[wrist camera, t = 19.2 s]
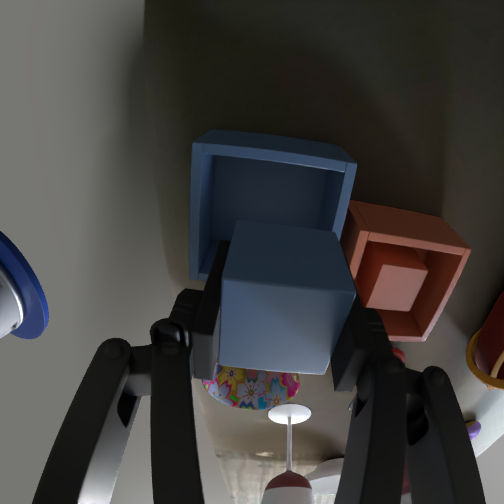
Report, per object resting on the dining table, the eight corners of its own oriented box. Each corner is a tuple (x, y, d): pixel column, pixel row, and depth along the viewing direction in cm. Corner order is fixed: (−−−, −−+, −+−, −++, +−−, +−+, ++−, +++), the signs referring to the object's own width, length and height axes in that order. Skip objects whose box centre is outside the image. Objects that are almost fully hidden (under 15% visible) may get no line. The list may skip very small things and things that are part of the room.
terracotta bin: (318, 294, 35) (325, 337, 29) (343, 198, 29) (360, 229, 23) (407, 302, 34) (424, 342, 29) (441, 217, 28) (472, 249, 23)
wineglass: (260, 421, 50) (252, 521, 33) (275, 399, 46) (270, 514, 29) (301, 427, 51) (301, 523, 34) (320, 405, 46) (325, 515, 29)
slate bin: (204, 241, 32) (189, 279, 26) (210, 128, 26) (191, 142, 20) (316, 255, 32) (324, 296, 26) (339, 145, 26) (357, 163, 20)
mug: (209, 286, 35) (188, 357, 26) (291, 277, 34) (294, 351, 24) (233, 355, 41) (222, 422, 32) (301, 350, 39) (304, 418, 30)
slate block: (230, 298, 18) (217, 365, 14) (236, 218, 15) (221, 277, 11) (315, 307, 18) (324, 375, 13) (336, 231, 15) (357, 292, 11)
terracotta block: (355, 277, 32) (365, 307, 28) (369, 236, 30) (382, 263, 25) (395, 282, 32) (409, 311, 28) (410, 244, 30) (428, 270, 25)
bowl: (388, 456, 60) (391, 478, 54) (327, 477, 68) (327, 497, 62) (349, 440, 54) (351, 468, 48) (281, 464, 62) (280, 487, 56)
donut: (456, 440, 57) (458, 454, 53) (438, 432, 57) (440, 447, 53) (485, 420, 52) (488, 434, 48) (469, 411, 52) (472, 427, 48)
